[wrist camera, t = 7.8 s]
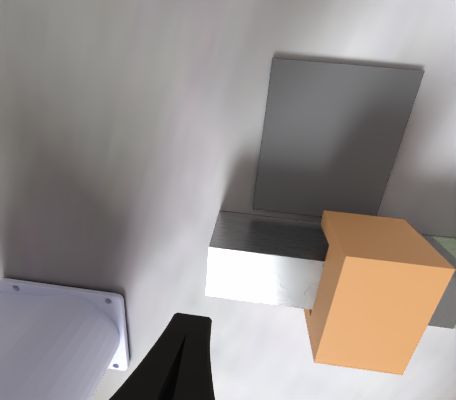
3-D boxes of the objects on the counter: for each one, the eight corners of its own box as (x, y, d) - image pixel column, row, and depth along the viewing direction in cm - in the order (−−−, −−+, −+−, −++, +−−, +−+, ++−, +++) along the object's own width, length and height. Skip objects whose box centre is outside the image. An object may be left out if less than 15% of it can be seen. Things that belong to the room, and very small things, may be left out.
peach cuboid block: (302, 300, 17) (314, 362, 13) (323, 210, 14) (345, 256, 11) (370, 309, 17) (402, 375, 13) (404, 219, 14) (455, 269, 10)
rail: (214, 270, 19) (197, 348, 14) (221, 187, 17) (202, 243, 11) (505, 308, 18) (613, 409, 12) (558, 226, 15) (721, 307, 10)
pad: (253, 207, 17) (253, 208, 17) (272, 58, 14) (272, 58, 13) (372, 221, 16) (373, 222, 16) (422, 70, 13) (424, 70, 13)
